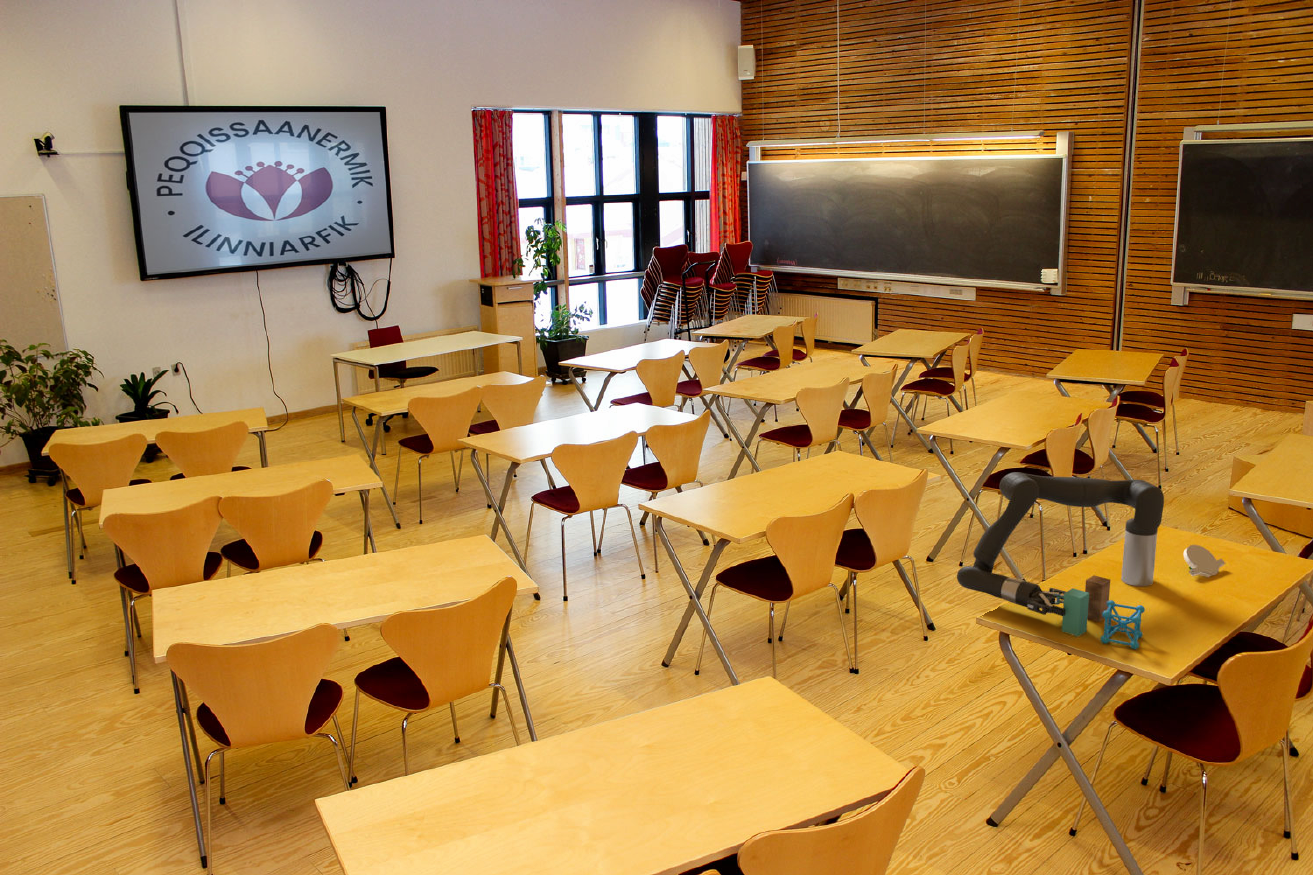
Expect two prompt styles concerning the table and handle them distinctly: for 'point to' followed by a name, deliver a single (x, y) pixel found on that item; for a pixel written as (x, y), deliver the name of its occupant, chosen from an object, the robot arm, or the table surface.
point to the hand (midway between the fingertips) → (1072, 608)
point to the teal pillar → (1075, 612)
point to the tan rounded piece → (1201, 561)
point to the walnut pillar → (1097, 597)
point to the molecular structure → (1122, 624)
